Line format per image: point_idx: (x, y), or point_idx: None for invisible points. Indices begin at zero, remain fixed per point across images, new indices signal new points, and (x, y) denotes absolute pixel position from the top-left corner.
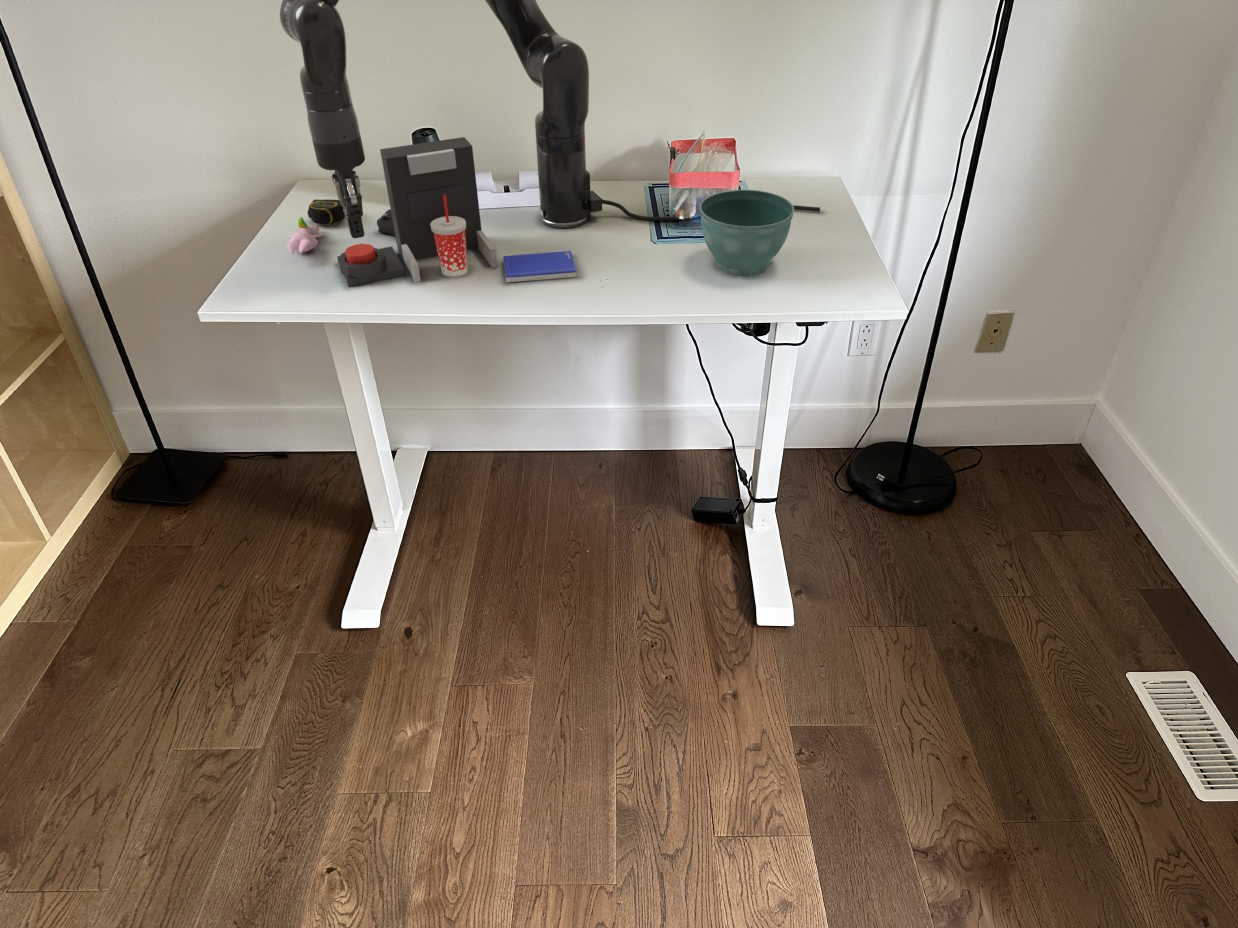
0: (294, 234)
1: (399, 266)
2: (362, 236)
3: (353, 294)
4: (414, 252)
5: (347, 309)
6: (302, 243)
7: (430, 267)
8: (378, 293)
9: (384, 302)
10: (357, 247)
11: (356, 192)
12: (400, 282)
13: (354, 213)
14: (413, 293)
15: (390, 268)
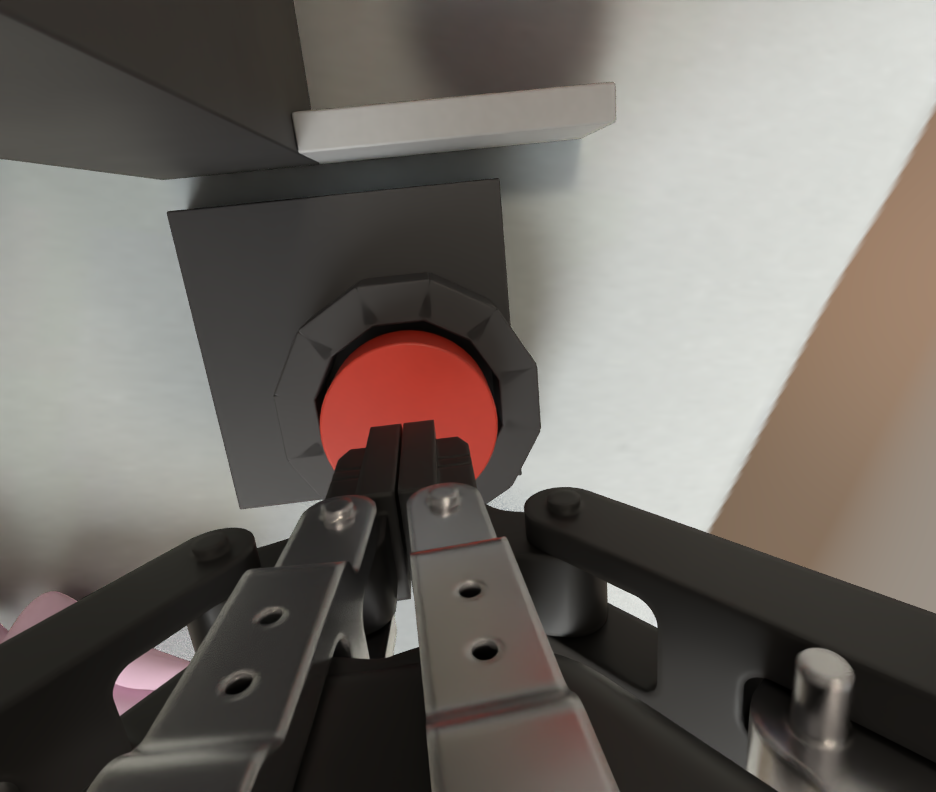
0: None
1: (460, 201)
2: (435, 432)
3: (586, 441)
4: (297, 78)
5: (709, 470)
6: (157, 685)
7: (420, 13)
8: (620, 335)
9: (718, 317)
10: None
11: (632, 703)
12: (547, 217)
13: (603, 584)
14: (690, 166)
15: (469, 255)
